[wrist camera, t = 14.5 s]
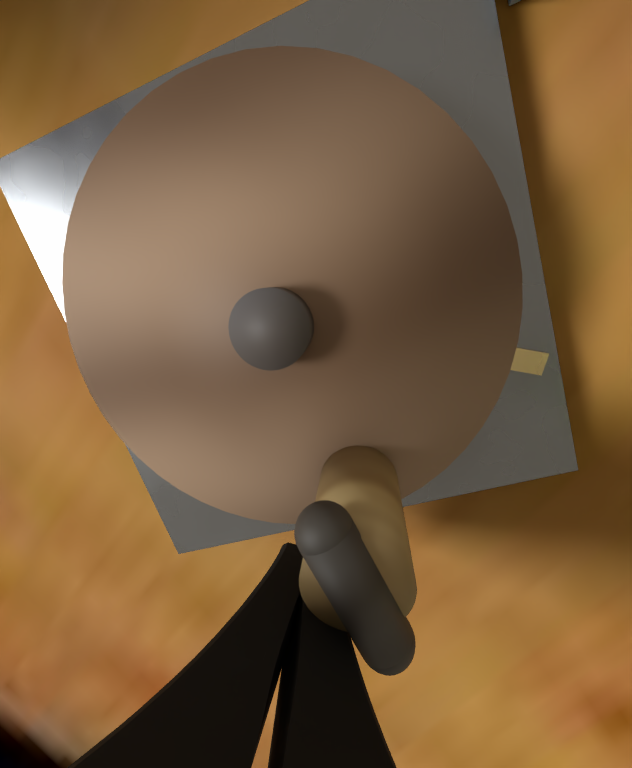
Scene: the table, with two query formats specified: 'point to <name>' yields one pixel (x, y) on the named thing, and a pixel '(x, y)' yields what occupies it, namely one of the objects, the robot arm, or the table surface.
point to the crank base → (479, 122)
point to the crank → (297, 308)
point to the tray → (512, 1)
